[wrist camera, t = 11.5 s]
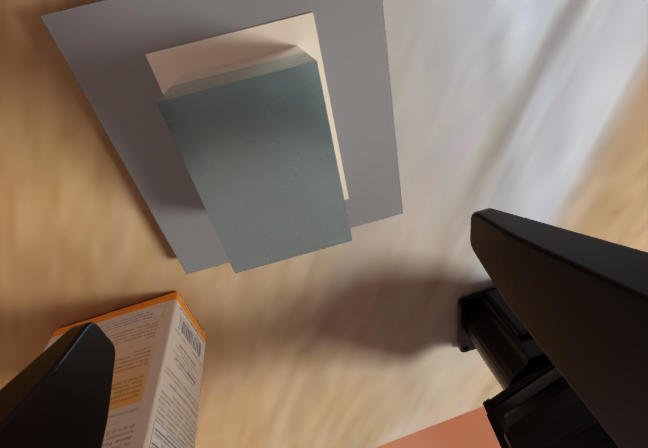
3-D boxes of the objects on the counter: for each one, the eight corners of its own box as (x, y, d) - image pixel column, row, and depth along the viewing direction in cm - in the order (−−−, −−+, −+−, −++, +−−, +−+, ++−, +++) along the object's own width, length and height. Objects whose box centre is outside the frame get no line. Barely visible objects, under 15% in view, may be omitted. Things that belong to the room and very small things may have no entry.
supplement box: (98, 370, 25) (-20, 658, 14) (53, 326, 22) (-134, 639, 11) (211, 335, 25) (184, 590, 14) (180, 288, 22) (118, 557, 11)
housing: (297, 45, 15) (317, 60, 11) (328, 188, 19) (352, 240, 15) (181, 74, 15) (156, 101, 11) (237, 213, 19) (235, 273, 14)
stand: (394, 201, 22) (403, 214, 21) (190, 258, 21) (186, 275, 20) (365, -60, 15) (377, -67, 13) (58, 15, 14) (38, 15, 13)
